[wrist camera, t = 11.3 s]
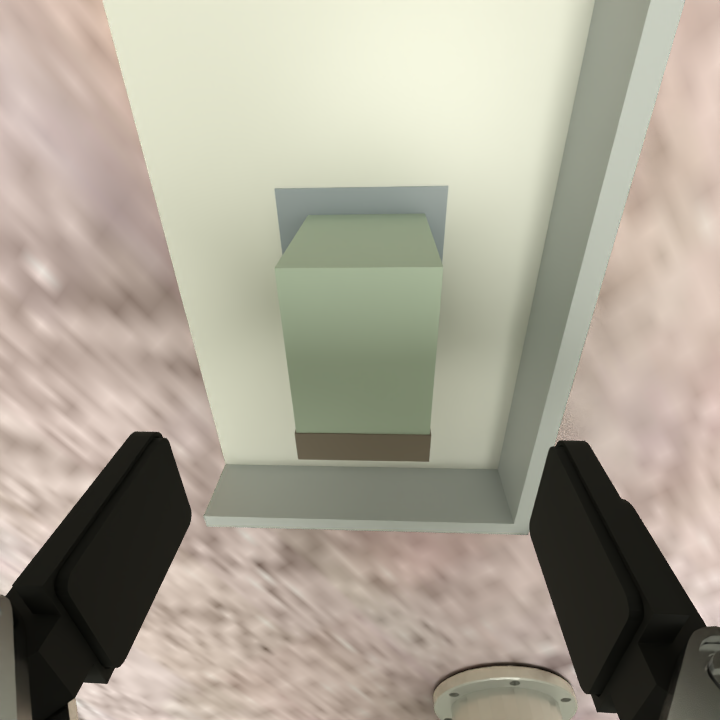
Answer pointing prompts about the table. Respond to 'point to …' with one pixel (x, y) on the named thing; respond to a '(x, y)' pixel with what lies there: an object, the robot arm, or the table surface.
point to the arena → (394, 196)
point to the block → (361, 335)
